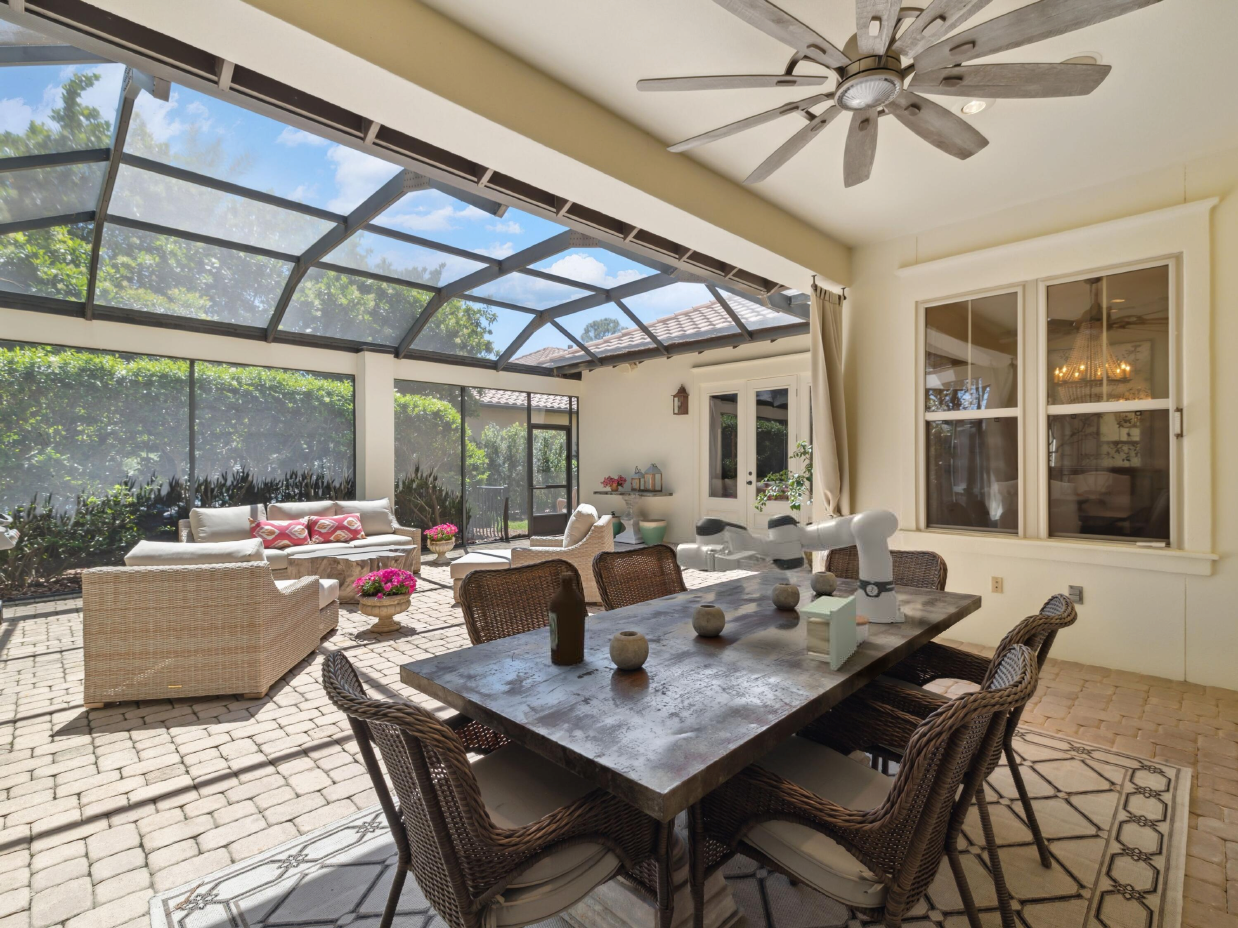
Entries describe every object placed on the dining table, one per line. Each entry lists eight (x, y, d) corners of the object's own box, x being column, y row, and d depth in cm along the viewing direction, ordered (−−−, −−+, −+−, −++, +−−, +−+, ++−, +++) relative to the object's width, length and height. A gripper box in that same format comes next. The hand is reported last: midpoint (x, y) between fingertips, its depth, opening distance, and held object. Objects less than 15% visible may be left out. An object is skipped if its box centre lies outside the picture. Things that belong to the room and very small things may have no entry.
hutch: (823, 644, 183) (823, 592, 184) (856, 649, 178) (856, 596, 178) (799, 663, 166) (799, 606, 166) (835, 670, 160) (835, 611, 160)
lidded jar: (874, 647, 180) (874, 616, 180) (839, 647, 180) (838, 616, 180) (861, 637, 191) (860, 608, 191) (827, 637, 191) (827, 608, 191)
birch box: (812, 651, 177) (811, 617, 177) (839, 656, 172) (839, 621, 172) (807, 655, 173) (806, 621, 173) (835, 660, 169) (834, 625, 169)
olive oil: (581, 653, 177) (580, 569, 177) (590, 664, 167) (589, 575, 167) (545, 656, 174) (545, 571, 174) (552, 668, 163) (552, 577, 164)
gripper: (734, 563, 203) (773, 567, 195) (706, 572, 187) (747, 577, 179) (733, 545, 203) (772, 548, 195) (706, 552, 187) (747, 555, 179)
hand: (760, 562), depth 187 cm, fingers open, 8 cm apart
